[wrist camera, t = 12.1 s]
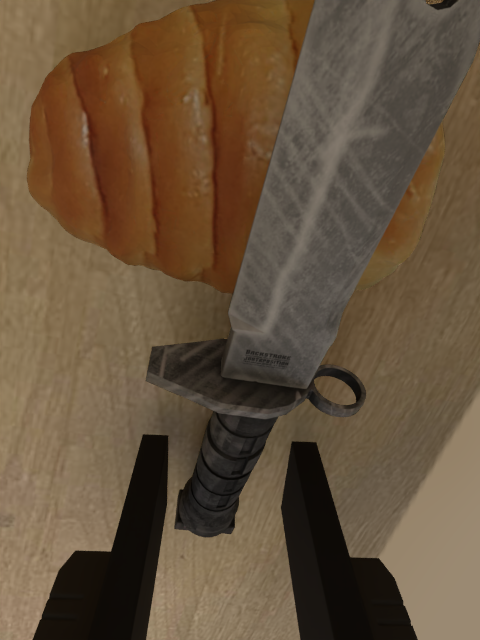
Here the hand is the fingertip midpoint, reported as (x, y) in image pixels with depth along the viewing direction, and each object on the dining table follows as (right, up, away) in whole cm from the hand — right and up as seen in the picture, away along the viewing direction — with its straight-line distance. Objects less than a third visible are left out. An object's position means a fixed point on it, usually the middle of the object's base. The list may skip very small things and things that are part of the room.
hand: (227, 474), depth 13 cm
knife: (+1, +5, -4) cm, 7 cm away
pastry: (+1, +9, -1) cm, 9 cm away
